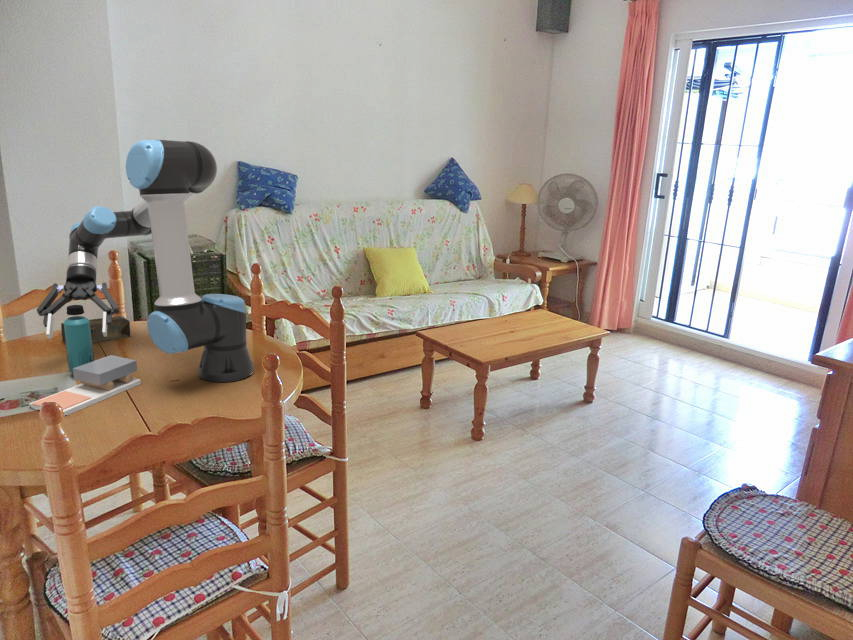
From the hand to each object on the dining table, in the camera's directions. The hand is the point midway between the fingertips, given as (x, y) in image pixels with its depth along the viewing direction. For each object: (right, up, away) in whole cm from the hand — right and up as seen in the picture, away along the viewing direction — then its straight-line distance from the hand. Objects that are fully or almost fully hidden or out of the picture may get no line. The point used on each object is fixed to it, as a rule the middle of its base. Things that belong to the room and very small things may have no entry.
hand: (77, 335), depth 169 cm
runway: (+9, -15, -11) cm, 21 cm away
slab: (+11, -10, -7) cm, 17 cm away
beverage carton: (-12, -2, +32) cm, 34 cm away
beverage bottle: (0, -11, +2) cm, 11 cm away
